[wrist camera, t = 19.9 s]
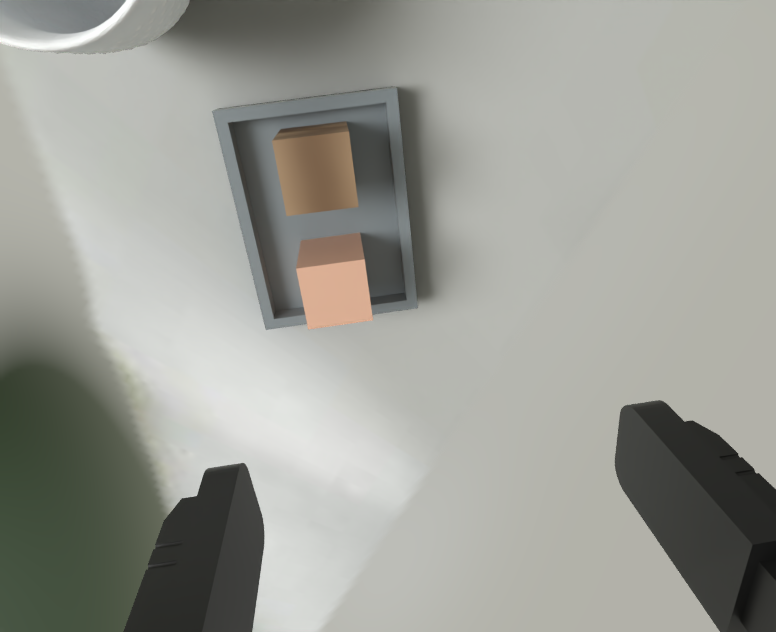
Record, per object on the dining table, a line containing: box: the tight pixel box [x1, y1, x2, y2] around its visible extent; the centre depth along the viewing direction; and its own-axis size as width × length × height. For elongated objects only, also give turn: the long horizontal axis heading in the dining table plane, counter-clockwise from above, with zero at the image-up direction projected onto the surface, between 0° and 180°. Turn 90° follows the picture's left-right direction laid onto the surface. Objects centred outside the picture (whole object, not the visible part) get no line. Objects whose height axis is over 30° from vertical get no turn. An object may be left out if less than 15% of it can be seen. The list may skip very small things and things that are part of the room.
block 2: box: [296, 233, 373, 329], centre depth 37 cm, size 4×4×6 cm
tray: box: [212, 87, 418, 330], centre depth 38 cm, size 16×12×2 cm
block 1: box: [272, 121, 359, 216], centre depth 34 cm, size 4×4×6 cm
